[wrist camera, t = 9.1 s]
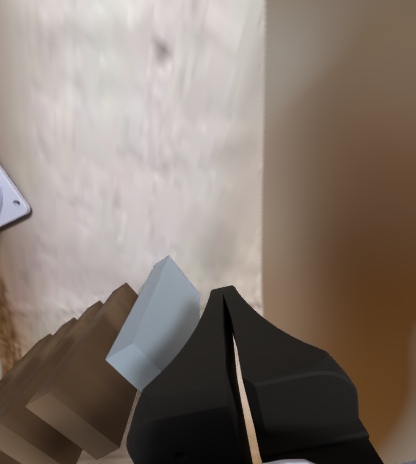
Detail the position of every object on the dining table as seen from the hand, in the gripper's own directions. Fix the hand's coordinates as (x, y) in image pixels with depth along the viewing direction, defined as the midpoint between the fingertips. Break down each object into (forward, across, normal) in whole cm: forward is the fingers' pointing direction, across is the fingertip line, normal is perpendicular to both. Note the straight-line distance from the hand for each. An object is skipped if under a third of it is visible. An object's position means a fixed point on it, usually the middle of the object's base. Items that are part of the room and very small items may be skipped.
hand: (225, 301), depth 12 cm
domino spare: (+7, +4, +2) cm, 8 cm away
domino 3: (+7, +12, +4) cm, 15 cm away
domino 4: (+7, +9, +3) cm, 12 cm away
